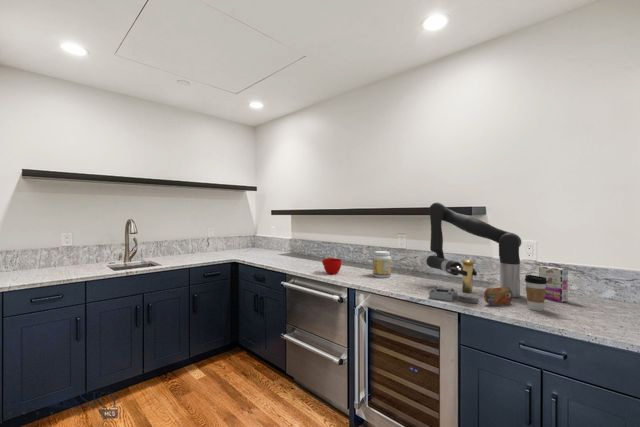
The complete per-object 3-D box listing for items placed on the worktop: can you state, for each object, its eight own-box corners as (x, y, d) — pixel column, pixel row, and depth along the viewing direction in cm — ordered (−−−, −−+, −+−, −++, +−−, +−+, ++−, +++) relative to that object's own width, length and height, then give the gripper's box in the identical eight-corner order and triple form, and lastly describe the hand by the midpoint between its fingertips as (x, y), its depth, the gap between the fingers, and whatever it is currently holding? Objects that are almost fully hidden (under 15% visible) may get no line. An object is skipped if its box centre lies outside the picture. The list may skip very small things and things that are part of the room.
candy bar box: (568, 301, 154) (568, 269, 154) (561, 302, 152) (561, 269, 152) (544, 296, 164) (545, 265, 164) (538, 297, 162) (538, 265, 162)
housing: (455, 296, 162) (455, 288, 162) (452, 301, 153) (452, 293, 153) (433, 293, 168) (433, 286, 168) (429, 298, 158) (429, 290, 158)
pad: (478, 299, 156) (478, 298, 156) (477, 304, 149) (477, 302, 149) (459, 297, 161) (459, 295, 161) (457, 301, 153) (457, 300, 153)
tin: (487, 306, 145) (487, 288, 145) (482, 304, 148) (482, 287, 148) (513, 304, 149) (513, 286, 149) (507, 302, 153) (507, 285, 152)
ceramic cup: (329, 270, 233) (329, 257, 233) (345, 273, 220) (345, 259, 220) (316, 272, 224) (316, 258, 224) (331, 276, 211) (331, 261, 211)
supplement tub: (369, 275, 216) (369, 251, 216) (385, 274, 220) (385, 250, 220) (378, 278, 205) (378, 253, 205) (394, 277, 208) (394, 252, 208)
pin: (474, 291, 156) (475, 260, 156) (473, 294, 151) (474, 262, 151) (461, 290, 159) (462, 259, 159) (460, 292, 154) (460, 260, 154)
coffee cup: (525, 304, 148) (525, 273, 148) (547, 308, 143) (547, 276, 143) (523, 309, 142) (523, 276, 141) (546, 312, 136) (546, 279, 136)
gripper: (439, 260, 168) (458, 266, 151) (463, 260, 170) (484, 266, 153) (439, 274, 168) (457, 281, 151) (463, 273, 170) (484, 281, 153)
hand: (471, 273), depth 152 cm, fingers closed on pin, 4 cm apart
